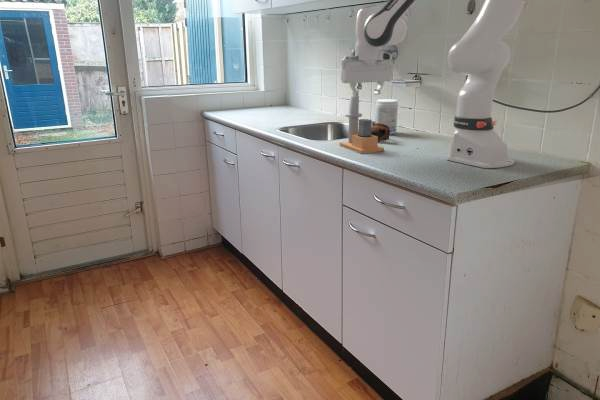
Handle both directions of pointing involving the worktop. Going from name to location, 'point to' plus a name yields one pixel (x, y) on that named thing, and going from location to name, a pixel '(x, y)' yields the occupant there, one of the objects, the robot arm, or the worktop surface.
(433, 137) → the worktop surface
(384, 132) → the pottery mug
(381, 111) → the supplement tub
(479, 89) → the robot arm
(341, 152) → the worktop surface
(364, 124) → the grey upright block
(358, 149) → the wooden stepped base
